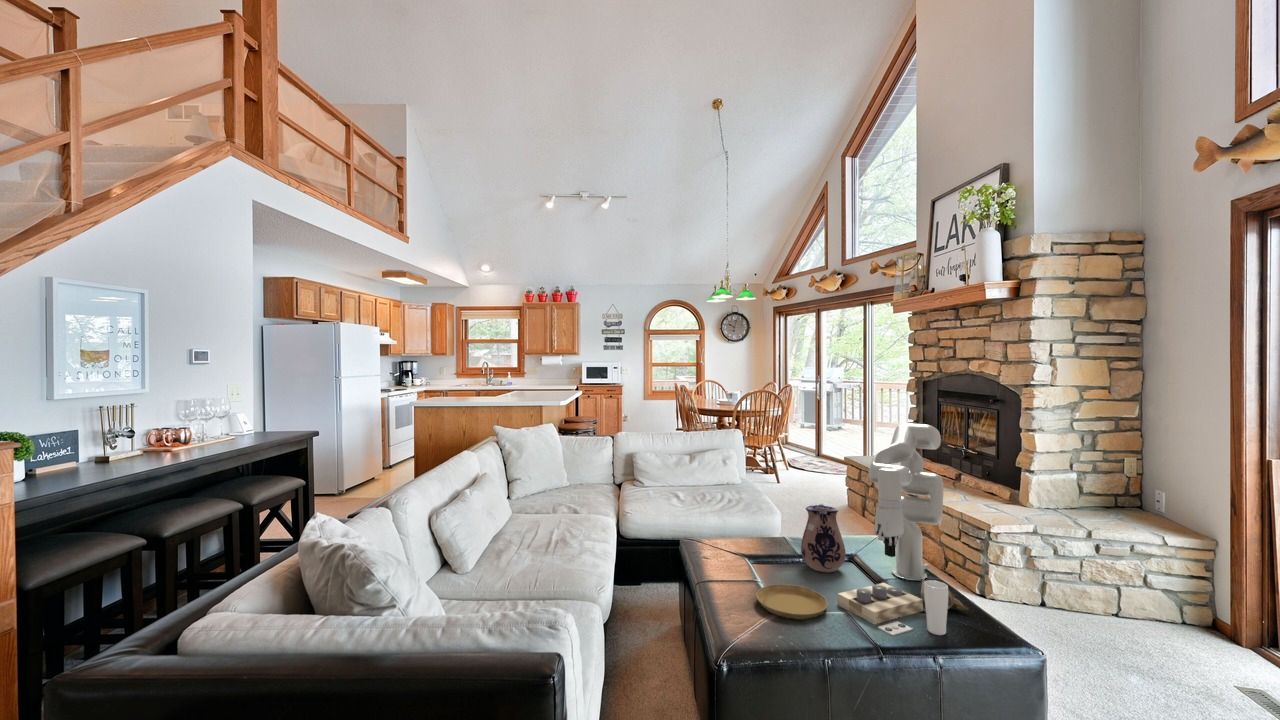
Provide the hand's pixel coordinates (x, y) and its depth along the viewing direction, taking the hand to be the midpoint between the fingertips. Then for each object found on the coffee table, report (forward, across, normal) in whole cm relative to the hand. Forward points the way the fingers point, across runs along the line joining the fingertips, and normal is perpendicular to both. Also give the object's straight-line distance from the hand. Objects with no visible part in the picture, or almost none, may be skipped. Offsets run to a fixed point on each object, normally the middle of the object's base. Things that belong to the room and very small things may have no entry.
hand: (890, 555), depth 189 cm
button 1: (+15, +12, 0) cm, 20 cm away
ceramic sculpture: (+18, -14, +8) cm, 24 cm away
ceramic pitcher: (+17, -6, -38) cm, 42 cm away
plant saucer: (+18, +32, -15) cm, 39 cm away
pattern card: (+18, +13, +12) cm, 25 cm away
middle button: (+15, +5, 0) cm, 16 cm away
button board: (+18, +5, 0) cm, 18 cm away
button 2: (+17, -3, 0) cm, 17 cm away
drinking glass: (+18, +3, +20) cm, 27 cm away
